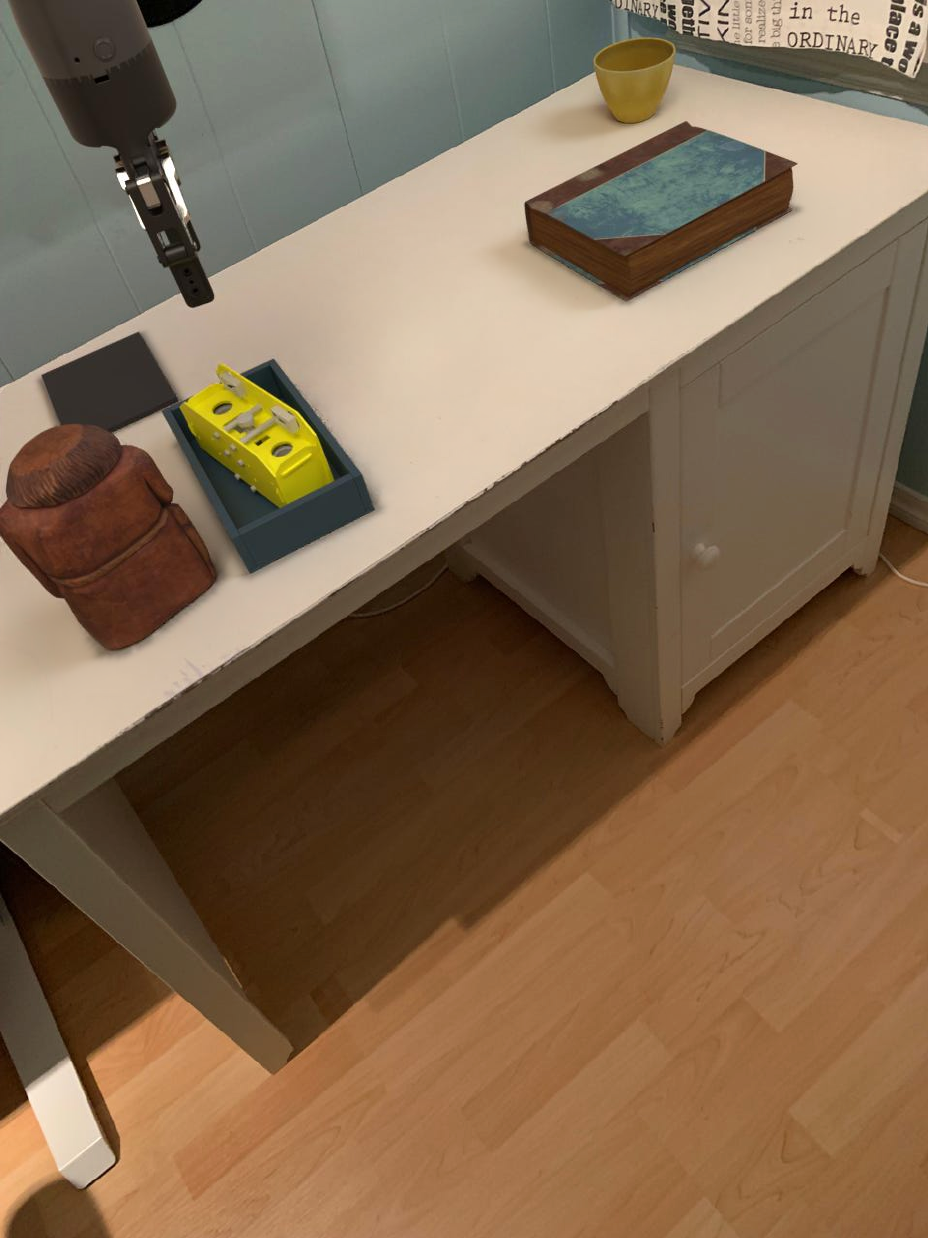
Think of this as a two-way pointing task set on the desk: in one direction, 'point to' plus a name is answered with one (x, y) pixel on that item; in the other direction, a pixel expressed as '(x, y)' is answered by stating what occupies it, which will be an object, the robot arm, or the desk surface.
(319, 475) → the yellow toy chassis
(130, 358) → the mat
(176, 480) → the desk surface
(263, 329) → the desk surface
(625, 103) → the flower pot
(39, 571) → the wooden figurine
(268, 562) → the bin
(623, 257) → the book
